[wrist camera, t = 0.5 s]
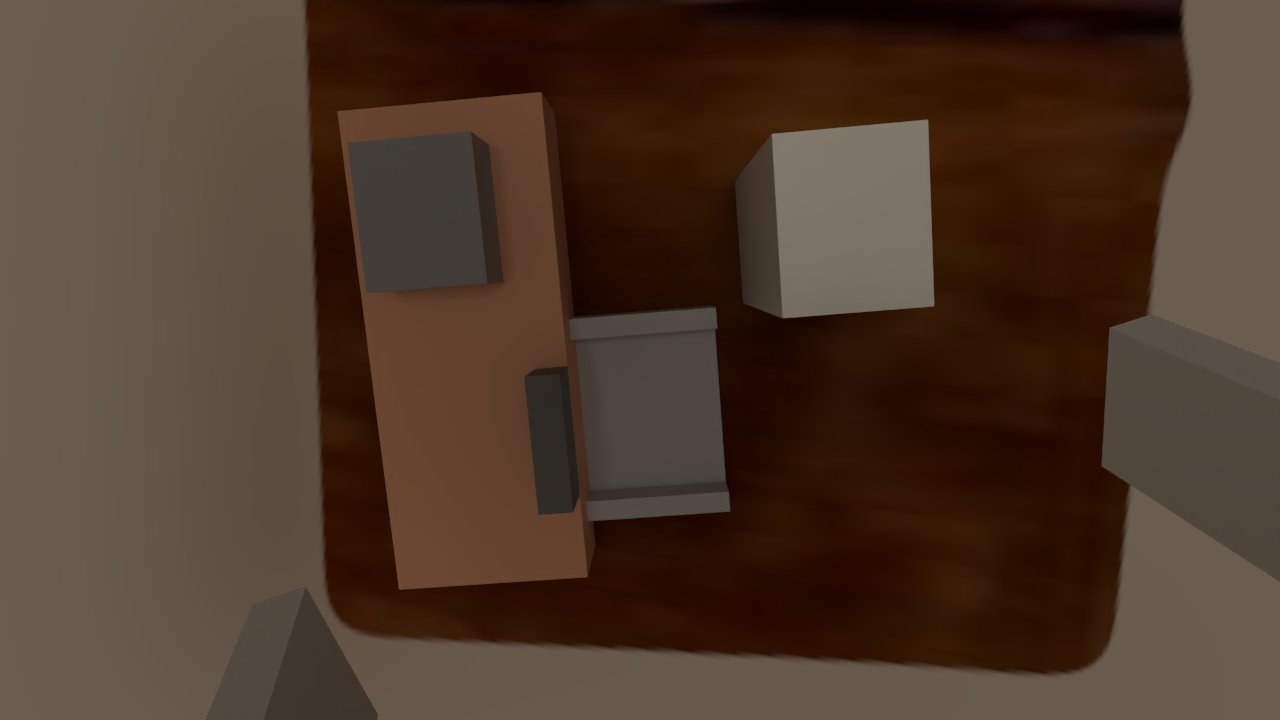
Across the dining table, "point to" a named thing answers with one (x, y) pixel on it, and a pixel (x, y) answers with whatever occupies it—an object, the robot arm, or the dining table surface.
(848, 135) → the tall grey brick
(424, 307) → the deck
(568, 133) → the dining table surface
